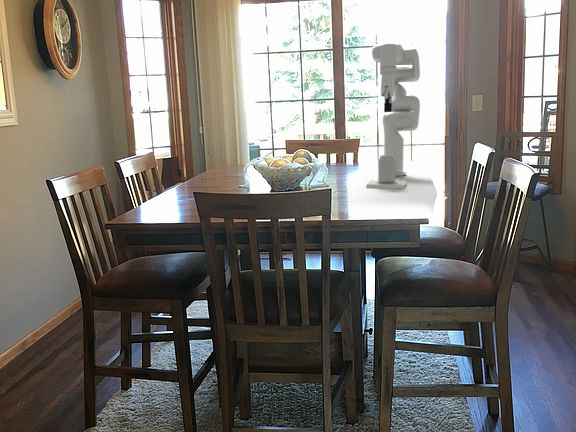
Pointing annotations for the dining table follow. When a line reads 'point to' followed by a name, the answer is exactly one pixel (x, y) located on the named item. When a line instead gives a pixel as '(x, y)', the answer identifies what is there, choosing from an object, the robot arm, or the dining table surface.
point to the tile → (386, 184)
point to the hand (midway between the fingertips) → (387, 112)
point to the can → (386, 169)
